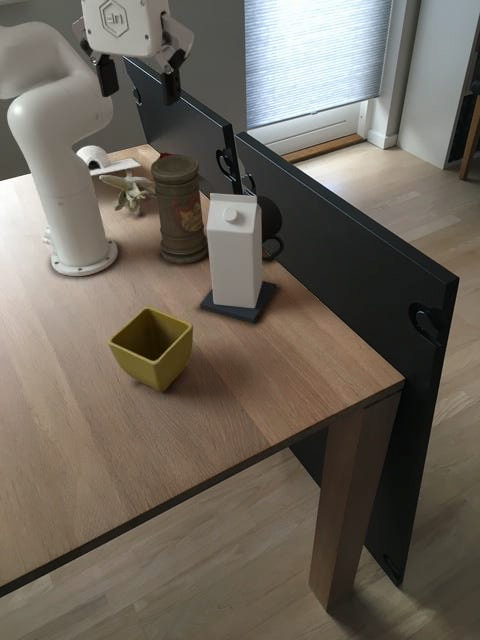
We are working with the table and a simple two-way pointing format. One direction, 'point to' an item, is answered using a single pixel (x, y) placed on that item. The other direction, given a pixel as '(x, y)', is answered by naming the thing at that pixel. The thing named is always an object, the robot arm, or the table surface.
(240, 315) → the slate mat
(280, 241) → the mug
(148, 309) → the flower pot
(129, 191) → the pale green plant
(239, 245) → the milk carton
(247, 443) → the table surface
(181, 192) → the container
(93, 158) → the igloo
